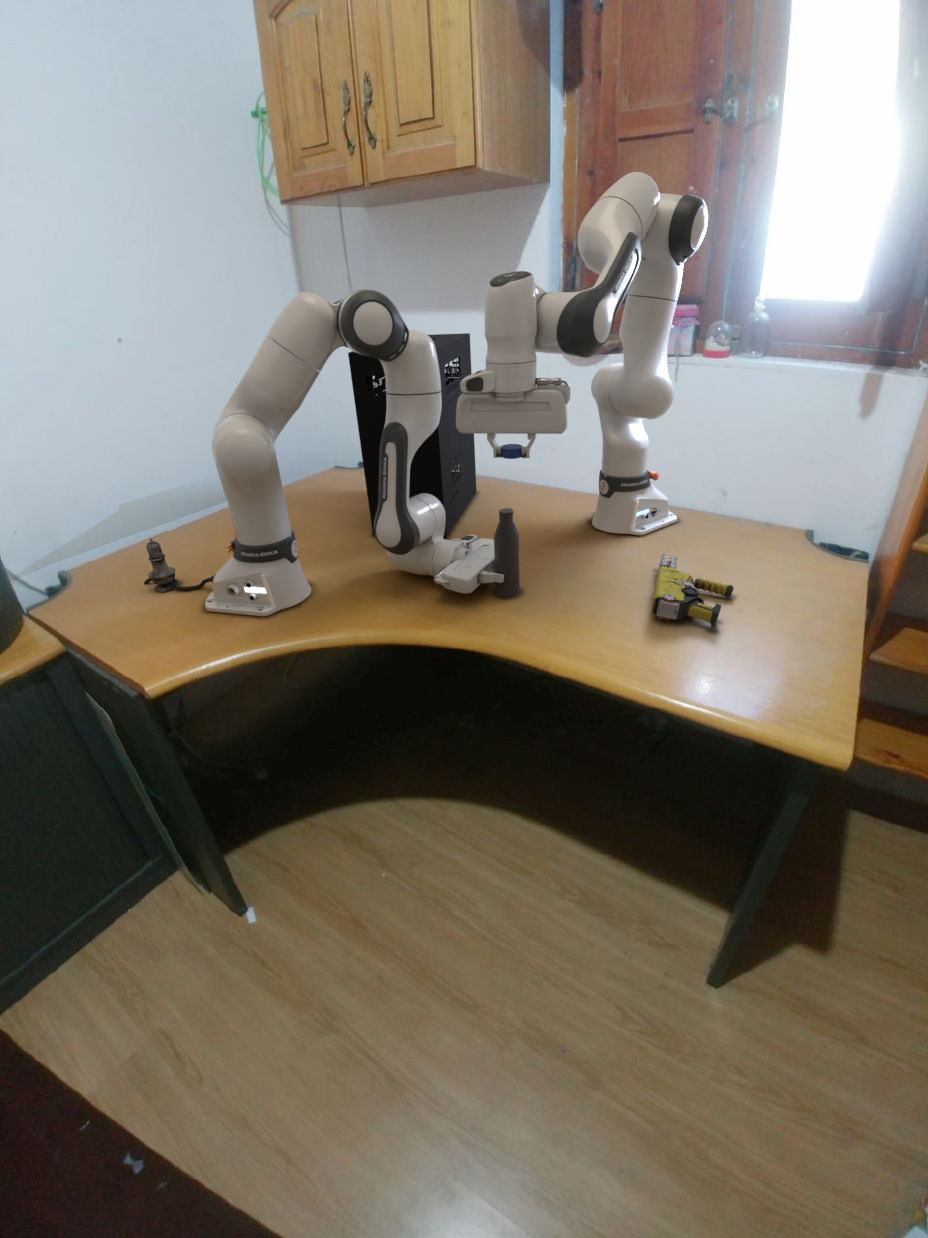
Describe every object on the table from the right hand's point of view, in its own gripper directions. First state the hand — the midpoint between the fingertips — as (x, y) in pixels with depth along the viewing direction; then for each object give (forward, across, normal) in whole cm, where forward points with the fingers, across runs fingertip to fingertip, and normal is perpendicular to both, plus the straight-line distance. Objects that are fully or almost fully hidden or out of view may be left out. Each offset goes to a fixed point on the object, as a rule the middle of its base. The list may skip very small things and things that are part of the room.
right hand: (511, 457), depth 113 cm
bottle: (+30, +2, -2) cm, 30 cm away
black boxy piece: (+29, +32, -48) cm, 65 cm away
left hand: (+24, +1, -2) cm, 24 cm away
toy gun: (+29, -36, -3) cm, 47 cm away
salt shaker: (+30, +80, +6) cm, 86 cm away
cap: (-2, 0, 0) cm, 2 cm away
